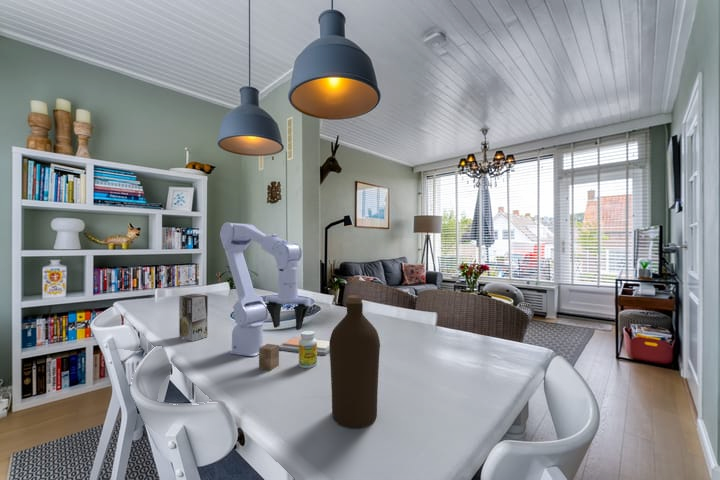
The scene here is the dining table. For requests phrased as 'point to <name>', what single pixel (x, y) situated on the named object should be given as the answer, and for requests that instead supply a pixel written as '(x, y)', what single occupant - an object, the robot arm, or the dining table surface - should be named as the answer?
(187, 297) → the coffee box
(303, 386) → the dining table surface
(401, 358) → the dining table surface
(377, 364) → the olive oil
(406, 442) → the dining table surface
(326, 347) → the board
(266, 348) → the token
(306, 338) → the supplement bottle
